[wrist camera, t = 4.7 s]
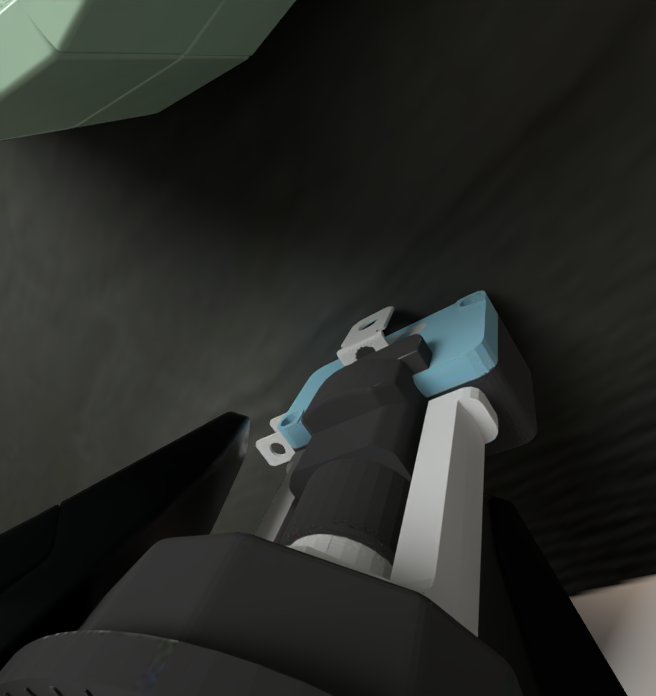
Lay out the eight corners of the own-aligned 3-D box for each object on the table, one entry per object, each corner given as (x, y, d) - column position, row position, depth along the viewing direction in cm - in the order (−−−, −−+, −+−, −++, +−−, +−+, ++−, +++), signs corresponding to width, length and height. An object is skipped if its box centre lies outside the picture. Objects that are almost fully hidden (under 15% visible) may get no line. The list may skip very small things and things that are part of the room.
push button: (336, 489, 14) (100, 1085, 6) (224, 339, 13) (-290, 825, 4) (574, 412, 11) (825, 1490, 3) (458, 203, 10) (201, 994, 1)
